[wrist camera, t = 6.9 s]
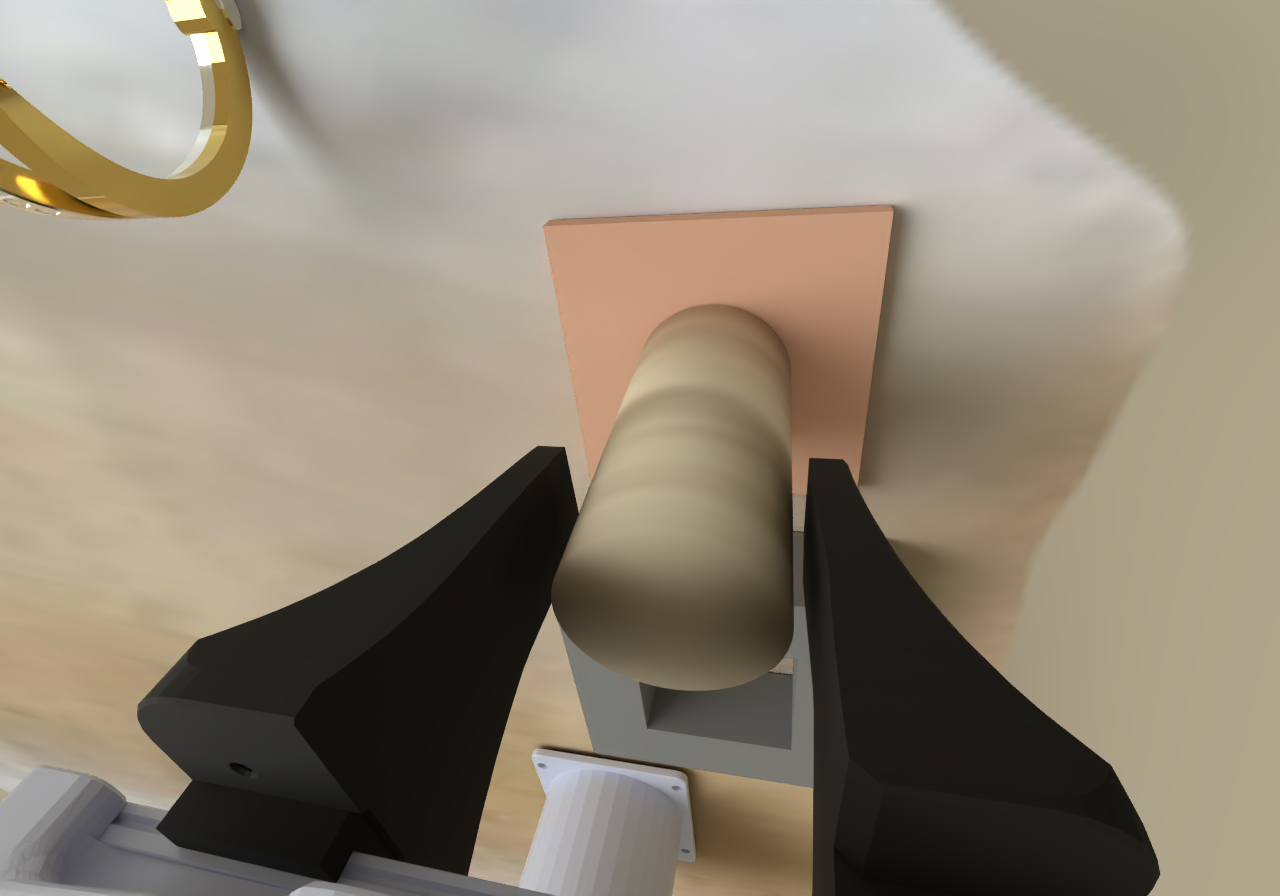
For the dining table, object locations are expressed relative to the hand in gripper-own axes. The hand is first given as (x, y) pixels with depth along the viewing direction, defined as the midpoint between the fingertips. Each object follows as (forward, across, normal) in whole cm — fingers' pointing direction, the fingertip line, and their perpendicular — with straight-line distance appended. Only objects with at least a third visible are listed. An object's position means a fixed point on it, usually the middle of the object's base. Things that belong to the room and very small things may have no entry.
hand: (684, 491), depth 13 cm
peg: (+5, 0, 0) cm, 5 cm away
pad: (+5, 0, 0) cm, 5 cm away
